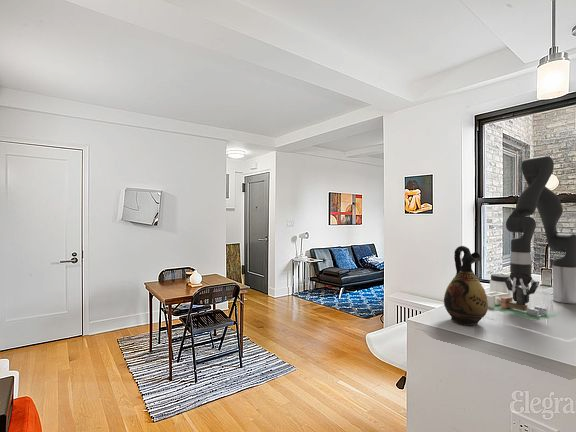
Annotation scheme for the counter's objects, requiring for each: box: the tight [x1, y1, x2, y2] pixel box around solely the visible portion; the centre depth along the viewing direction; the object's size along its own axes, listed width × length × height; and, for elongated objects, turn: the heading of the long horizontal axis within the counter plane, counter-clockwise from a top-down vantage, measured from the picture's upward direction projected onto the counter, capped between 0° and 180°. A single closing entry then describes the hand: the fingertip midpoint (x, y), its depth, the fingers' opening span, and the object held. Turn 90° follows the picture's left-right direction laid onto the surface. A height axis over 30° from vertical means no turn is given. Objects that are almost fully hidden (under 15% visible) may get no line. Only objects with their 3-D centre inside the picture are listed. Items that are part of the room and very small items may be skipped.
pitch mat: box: [488, 304, 558, 322], centre depth 143 cm, size 16×25×1 cm, turn 24°
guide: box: [527, 305, 548, 318], centre depth 135 cm, size 7×4×3 cm, turn 114°
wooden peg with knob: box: [501, 286, 528, 311], centre depth 143 cm, size 5×9×10 cm, turn 24°
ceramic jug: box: [443, 245, 489, 327], centre depth 129 cm, size 17×15×30 cm
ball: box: [495, 297, 501, 305], centre depth 151 cm, size 4×4×4 cm
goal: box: [485, 291, 509, 308], centre depth 151 cm, size 11×6×6 cm, turn 114°
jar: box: [489, 273, 512, 297], centre depth 164 cm, size 9×8×12 cm
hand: (520, 301), depth 141 cm, fingers closed on wooden peg with knob, 3 cm apart
